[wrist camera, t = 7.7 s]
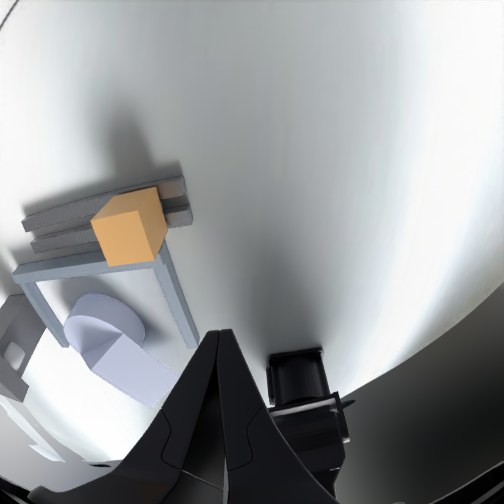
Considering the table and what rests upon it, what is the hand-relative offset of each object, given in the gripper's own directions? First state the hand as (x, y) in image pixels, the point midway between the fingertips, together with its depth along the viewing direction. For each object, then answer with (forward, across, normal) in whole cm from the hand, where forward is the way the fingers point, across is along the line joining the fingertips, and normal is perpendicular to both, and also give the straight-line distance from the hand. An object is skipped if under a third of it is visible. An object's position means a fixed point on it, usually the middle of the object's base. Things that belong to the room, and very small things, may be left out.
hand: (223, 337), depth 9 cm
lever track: (+13, +12, 0) cm, 18 cm away
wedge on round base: (+13, +16, +14) cm, 25 cm away
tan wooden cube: (+13, +7, 0) cm, 15 cm away
